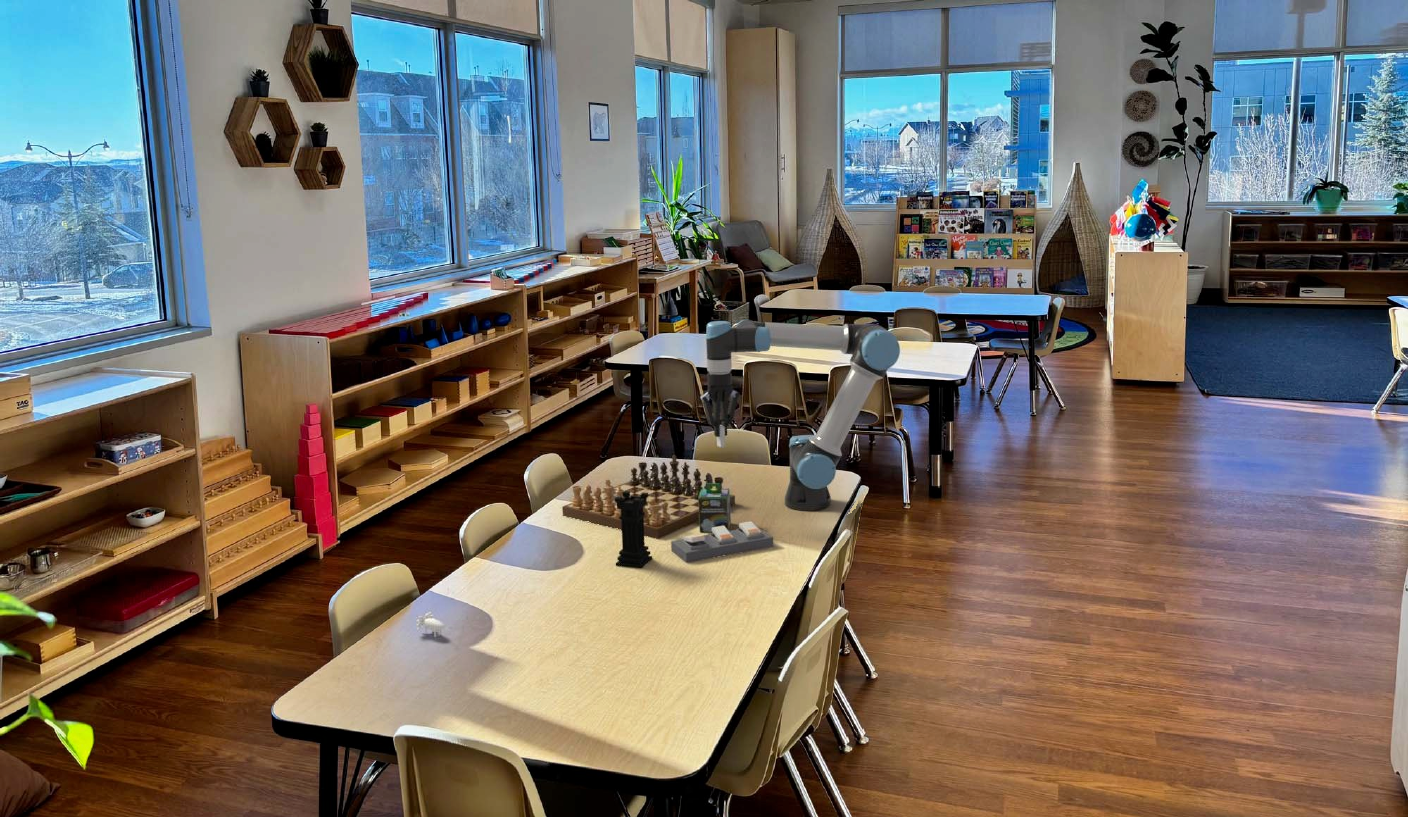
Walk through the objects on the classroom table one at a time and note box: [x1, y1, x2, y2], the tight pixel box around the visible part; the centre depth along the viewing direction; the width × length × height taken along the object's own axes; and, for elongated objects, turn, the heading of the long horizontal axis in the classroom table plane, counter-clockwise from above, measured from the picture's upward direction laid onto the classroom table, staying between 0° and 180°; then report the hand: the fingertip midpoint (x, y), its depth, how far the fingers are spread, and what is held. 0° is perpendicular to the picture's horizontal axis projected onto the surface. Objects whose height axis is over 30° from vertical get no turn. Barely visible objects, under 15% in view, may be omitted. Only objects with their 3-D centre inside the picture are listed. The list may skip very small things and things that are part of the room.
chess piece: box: [615, 491, 653, 570], centre depth 316 cm, size 8×8×20 cm
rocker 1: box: [682, 534, 705, 542], centre depth 323 cm, size 4×6×1 cm, turn 24°
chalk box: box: [698, 482, 732, 533], centre depth 344 cm, size 9×9×15 cm
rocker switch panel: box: [670, 525, 774, 564], centre depth 327 cm, size 28×11×4 cm, turn 114°
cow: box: [415, 610, 452, 638], centre depth 272 cm, size 12×5×5 cm, turn 52°
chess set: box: [561, 454, 736, 540], centre depth 363 cm, size 40×40×15 cm
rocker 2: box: [738, 520, 761, 536], centre depth 330 cm, size 4×6×1 cm, turn 24°
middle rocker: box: [711, 526, 733, 542], centre depth 326 cm, size 4×6×1 cm, turn 24°
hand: (721, 446), depth 347 cm, fingers closed
